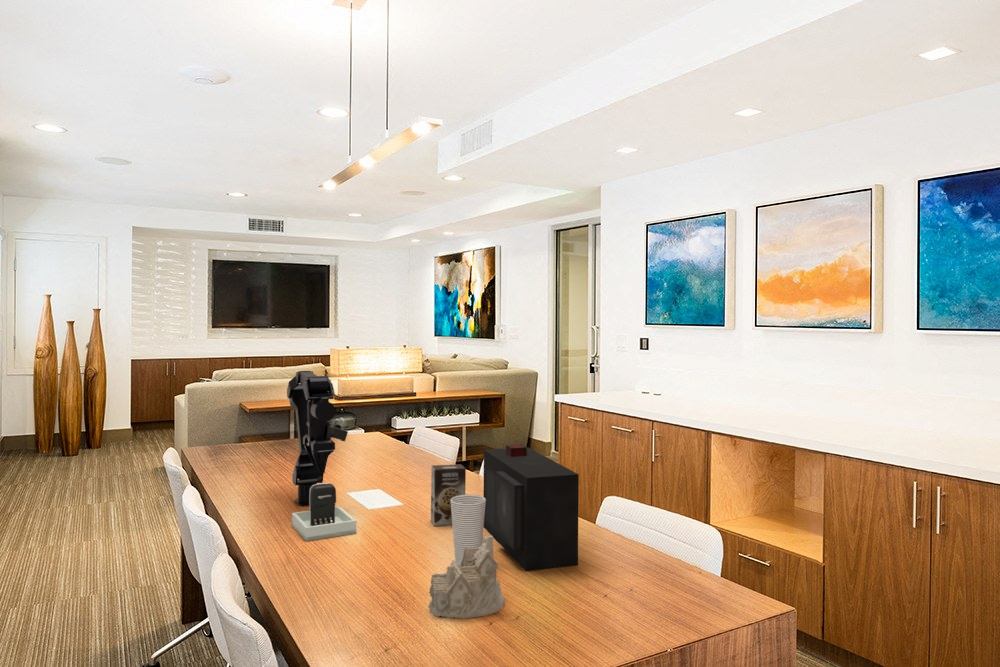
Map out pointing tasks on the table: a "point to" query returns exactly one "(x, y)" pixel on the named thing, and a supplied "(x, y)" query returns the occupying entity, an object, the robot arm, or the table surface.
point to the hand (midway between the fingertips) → (319, 471)
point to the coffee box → (445, 491)
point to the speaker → (531, 507)
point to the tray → (324, 525)
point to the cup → (467, 523)
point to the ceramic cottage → (468, 585)
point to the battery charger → (322, 504)
